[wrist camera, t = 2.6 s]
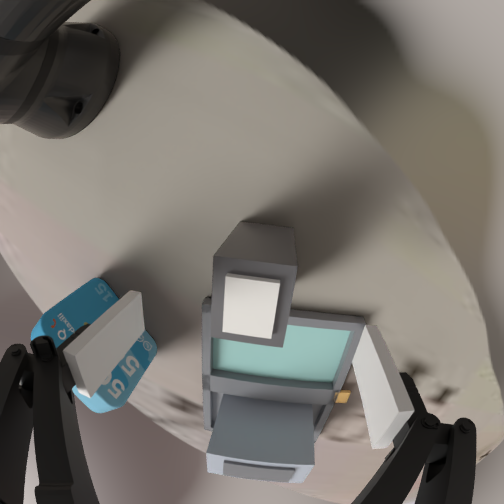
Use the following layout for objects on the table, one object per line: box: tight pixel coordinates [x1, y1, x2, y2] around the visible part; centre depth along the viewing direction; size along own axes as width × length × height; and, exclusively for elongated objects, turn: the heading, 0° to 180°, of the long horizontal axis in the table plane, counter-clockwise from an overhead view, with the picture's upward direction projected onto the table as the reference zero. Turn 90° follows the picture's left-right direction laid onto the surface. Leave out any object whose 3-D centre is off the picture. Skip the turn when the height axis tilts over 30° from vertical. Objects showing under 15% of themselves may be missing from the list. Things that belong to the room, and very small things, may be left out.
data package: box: [31, 278, 157, 413], centre depth 26 cm, size 12×4×12 cm, turn 37°
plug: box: [211, 221, 298, 348], centre depth 22 cm, size 6×5×10 cm
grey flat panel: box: [202, 297, 366, 443], centre depth 31 cm, size 23×18×2 cm
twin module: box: [206, 393, 315, 483], centre depth 28 cm, size 6×12×10 cm, turn 84°
